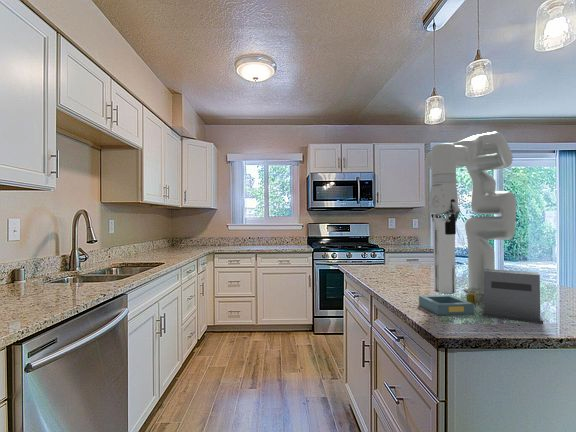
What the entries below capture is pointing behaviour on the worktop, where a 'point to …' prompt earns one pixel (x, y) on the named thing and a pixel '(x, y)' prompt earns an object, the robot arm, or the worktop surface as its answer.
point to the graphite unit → (512, 295)
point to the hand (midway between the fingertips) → (444, 233)
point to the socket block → (446, 305)
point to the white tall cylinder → (443, 258)
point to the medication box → (474, 296)
